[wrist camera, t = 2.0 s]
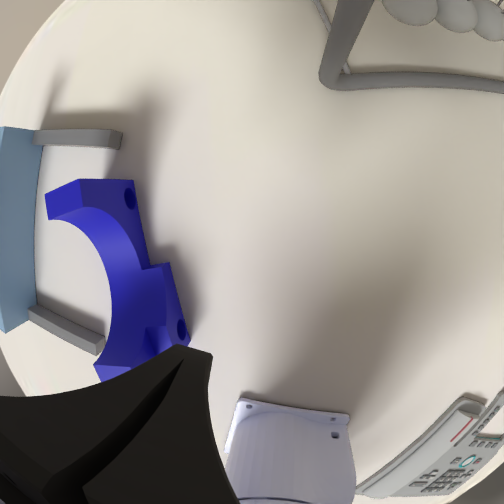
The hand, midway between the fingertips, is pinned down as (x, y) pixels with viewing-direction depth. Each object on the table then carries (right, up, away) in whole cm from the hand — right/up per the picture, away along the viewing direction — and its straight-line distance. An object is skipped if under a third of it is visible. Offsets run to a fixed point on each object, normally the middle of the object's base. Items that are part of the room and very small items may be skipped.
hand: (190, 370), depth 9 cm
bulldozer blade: (-13, +5, +10) cm, 17 cm away
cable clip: (-6, +3, +10) cm, 12 cm away
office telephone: (+29, -21, +12) cm, 37 cm away
